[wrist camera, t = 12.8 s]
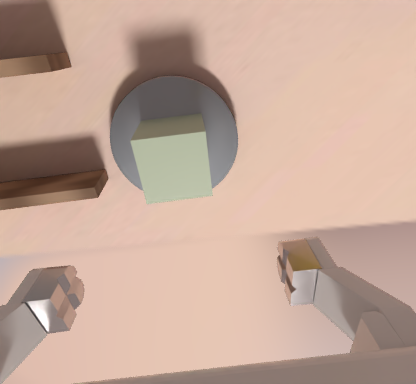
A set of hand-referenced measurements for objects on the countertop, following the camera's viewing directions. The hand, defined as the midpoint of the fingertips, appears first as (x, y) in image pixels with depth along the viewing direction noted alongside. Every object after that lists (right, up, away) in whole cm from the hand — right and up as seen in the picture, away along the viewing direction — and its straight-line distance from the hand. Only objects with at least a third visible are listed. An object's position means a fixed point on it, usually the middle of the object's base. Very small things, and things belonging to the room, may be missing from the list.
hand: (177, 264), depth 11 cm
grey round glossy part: (-2, +8, +13) cm, 16 cm away
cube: (-2, +7, +12) cm, 14 cm away
